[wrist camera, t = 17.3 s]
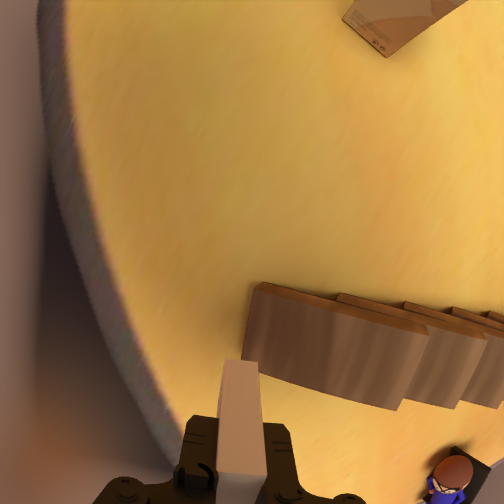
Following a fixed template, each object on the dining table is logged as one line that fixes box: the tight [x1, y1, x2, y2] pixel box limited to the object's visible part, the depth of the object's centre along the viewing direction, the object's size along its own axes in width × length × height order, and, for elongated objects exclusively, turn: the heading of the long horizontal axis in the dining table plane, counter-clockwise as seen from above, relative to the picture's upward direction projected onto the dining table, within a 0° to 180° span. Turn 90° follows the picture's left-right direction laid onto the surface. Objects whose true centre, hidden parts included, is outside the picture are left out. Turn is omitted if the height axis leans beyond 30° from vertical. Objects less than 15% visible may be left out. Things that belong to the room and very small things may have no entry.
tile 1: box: [241, 282, 430, 411], centre depth 19 cm, size 2×6×11 cm
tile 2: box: [336, 293, 488, 409], centre depth 19 cm, size 2×6×11 cm
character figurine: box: [423, 446, 491, 504], centre depth 24 cm, size 8×7×15 cm
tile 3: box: [403, 301, 504, 409], centre depth 19 cm, size 2×6×11 cm
